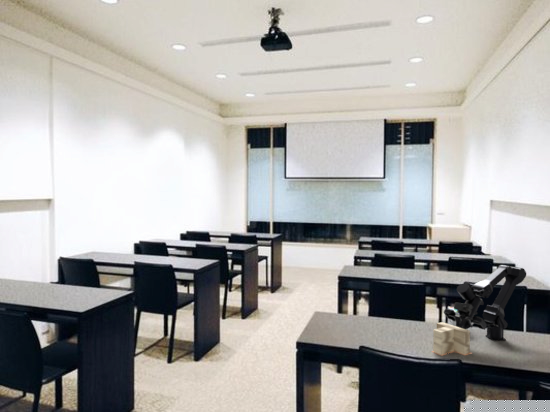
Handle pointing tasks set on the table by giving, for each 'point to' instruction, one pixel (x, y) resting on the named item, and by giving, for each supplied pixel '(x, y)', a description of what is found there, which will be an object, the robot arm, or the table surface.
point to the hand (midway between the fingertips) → (456, 333)
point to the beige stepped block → (450, 339)
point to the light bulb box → (452, 320)
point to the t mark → (452, 352)
